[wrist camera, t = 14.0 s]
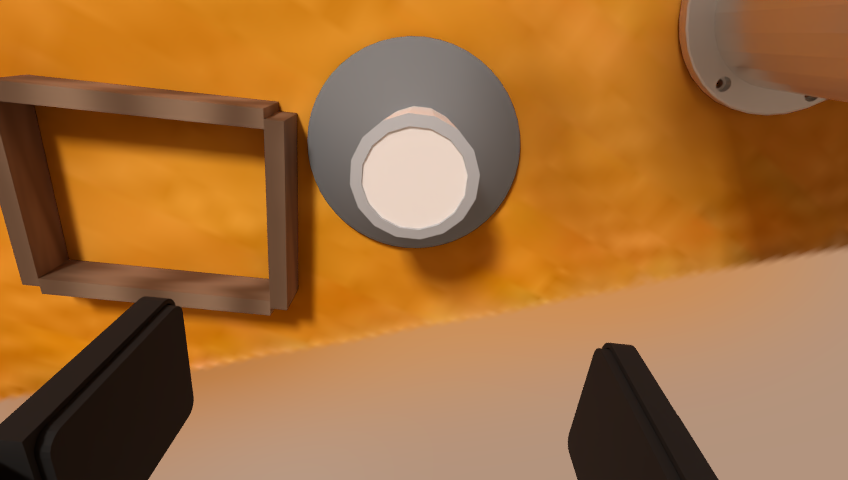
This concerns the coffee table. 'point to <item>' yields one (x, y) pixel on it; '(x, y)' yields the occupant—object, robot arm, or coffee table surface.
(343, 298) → the coffee table surface
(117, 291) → the brown rectangular frame
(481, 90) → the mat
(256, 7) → the coffee table surface
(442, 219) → the white cylinder
